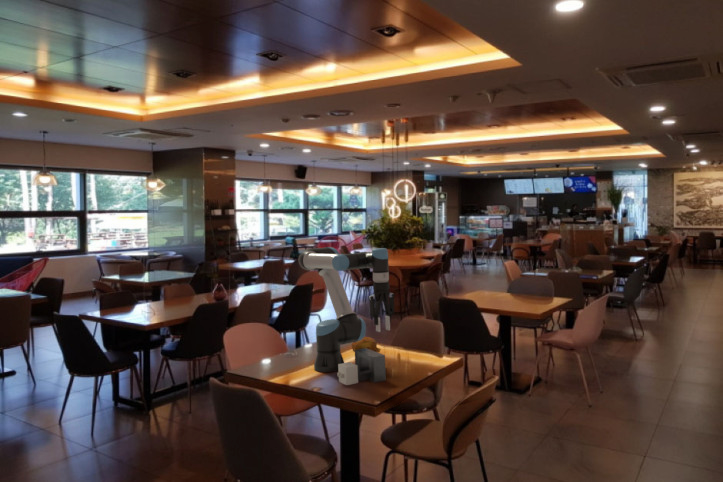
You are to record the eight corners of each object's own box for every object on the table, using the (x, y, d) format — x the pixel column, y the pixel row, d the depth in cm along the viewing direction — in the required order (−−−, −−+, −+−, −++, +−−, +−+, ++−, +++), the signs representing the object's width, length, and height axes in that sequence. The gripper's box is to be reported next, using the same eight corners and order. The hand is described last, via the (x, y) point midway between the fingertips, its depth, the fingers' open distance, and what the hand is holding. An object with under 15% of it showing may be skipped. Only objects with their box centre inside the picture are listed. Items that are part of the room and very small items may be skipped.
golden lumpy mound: (376, 349, 311) (376, 335, 312) (377, 352, 296) (377, 338, 297) (351, 350, 311) (351, 336, 312) (351, 353, 296) (351, 338, 297)
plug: (335, 382, 246) (335, 364, 245) (379, 372, 258) (378, 356, 257) (343, 386, 240) (342, 368, 239) (387, 376, 252) (386, 359, 252)
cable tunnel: (355, 374, 257) (354, 350, 256) (366, 371, 260) (365, 348, 259) (374, 382, 242) (373, 357, 242) (385, 380, 245) (384, 355, 245)
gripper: (369, 283, 245) (371, 334, 246) (401, 280, 254) (403, 329, 255) (360, 282, 252) (362, 332, 253) (392, 278, 261) (394, 326, 262)
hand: (383, 330), depth 254 cm, fingers open, 5 cm apart
